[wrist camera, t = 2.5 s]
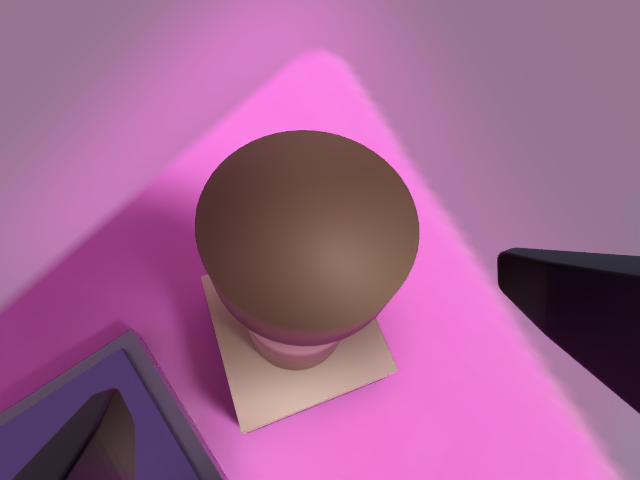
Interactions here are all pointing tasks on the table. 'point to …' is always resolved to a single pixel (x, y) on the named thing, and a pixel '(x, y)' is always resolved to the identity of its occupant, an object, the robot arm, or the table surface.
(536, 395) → the table surface
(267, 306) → the stamp
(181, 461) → the ink pad
